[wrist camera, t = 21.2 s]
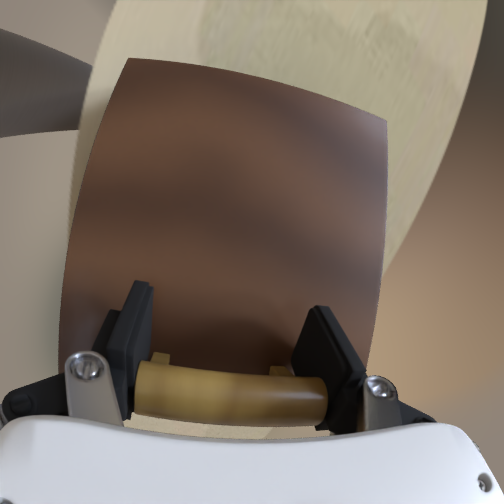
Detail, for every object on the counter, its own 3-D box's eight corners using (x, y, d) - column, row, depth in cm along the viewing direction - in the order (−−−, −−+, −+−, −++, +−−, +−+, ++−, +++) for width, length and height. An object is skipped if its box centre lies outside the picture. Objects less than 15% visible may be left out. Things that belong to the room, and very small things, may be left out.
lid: (347, 411, 14) (401, 452, 9) (64, 382, 11) (18, 427, 6) (379, 125, 16) (433, 87, 11) (129, 66, 13) (117, 0, 8)
